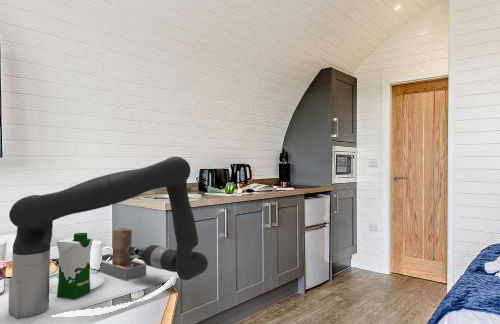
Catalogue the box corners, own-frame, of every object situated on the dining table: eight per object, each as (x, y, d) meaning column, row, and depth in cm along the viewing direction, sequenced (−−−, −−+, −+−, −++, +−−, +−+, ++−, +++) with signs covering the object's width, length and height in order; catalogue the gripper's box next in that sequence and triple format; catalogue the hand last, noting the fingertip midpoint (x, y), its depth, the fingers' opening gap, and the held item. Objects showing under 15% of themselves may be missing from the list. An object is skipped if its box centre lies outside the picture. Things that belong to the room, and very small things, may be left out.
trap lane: (125, 281, 128) (125, 269, 128) (88, 267, 144) (88, 257, 144) (146, 275, 136) (146, 263, 136) (108, 263, 151) (109, 253, 151)
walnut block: (119, 267, 134) (120, 231, 134) (112, 265, 137) (113, 229, 137) (131, 265, 138) (131, 229, 138) (123, 262, 141) (124, 228, 141)
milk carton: (75, 301, 109) (76, 236, 109) (51, 297, 111) (53, 234, 111) (94, 291, 117) (96, 231, 117) (72, 288, 120) (73, 230, 120)
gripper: (174, 243, 129) (145, 237, 140) (144, 250, 119) (115, 242, 129) (173, 264, 129) (144, 256, 140) (143, 272, 119) (114, 263, 129)
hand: (130, 249), depth 134 cm, fingers closed
